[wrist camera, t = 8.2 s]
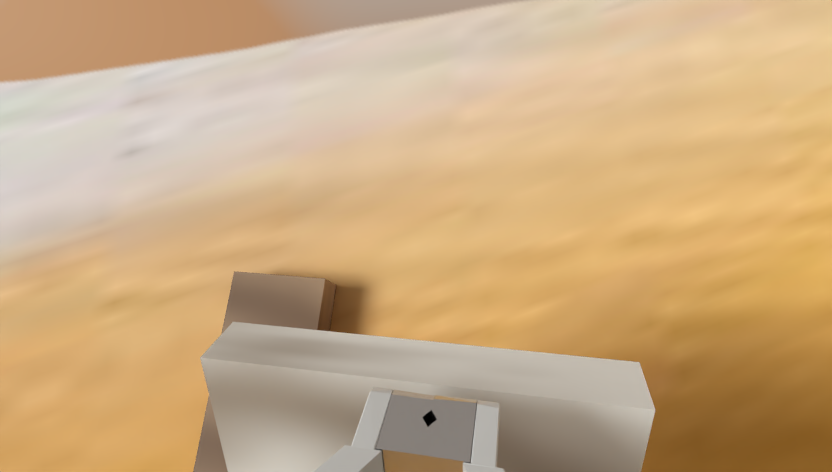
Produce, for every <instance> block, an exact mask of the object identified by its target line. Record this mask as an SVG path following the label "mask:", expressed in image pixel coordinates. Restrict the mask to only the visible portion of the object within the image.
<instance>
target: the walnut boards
mask: <svg viewBox="0 0 832 472" xmlns="http://www.w3.org/2000/svg"><path fill="white" fill-rule="evenodd" d="M335 290H336V285H335V284H333V283H332V282H330V281H328V280H326V279H322V278H310V277H297V276H285V275H272V274H260V273H247V272H235V271H234V275H233V280H232V285H231V290H230V295H229V300H228V305H227V310H226V315H225V319H224V324H223V329H222V333H223V332H224V331H225V330H226V329H227V328H228V327H229V326H230V325H231V323H232V322H241V323H251V324H261V325H271V326H281V327H291V328H301V329H311V330H321V331H329V330H330V323H331V316H332V310H333V303H334V296H335ZM193 472H228V470H227V466H226V462H225V458H224V454H223V450H222V446H221V441H220V437H219V433H218V429H217V425H216V421H215V417H214V412H213V408H212V404H211V400H210V396H209V398H208V403H207V407H206V412H205V417H204V422H203V427H202V432H201V437H200V442H199V447H198V451H197V456H196V461H195V466H194V471H193Z"/></svg>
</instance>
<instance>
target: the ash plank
mask: <svg viewBox="0 0 832 472" xmlns="http://www.w3.org/2000/svg"><path fill="white" fill-rule="evenodd" d="M200 359H201V363H202V367H203V371H204V375H205V379H206V383H207V388H208V392H209V396H210V400H211V404H212V408H213V412H214V417H215V421H216V425H217V429H218V433H219V437H220V441H221V446H222V450H223V454H224V458H225V462H226V466H227V470H228V472H314V471H315V470H316V469H317V468H318V467H320V466H321V465H322V464H323V463H324V462H326V461H327V460H328V459H329V458H330V457H332V456H333V455H334V454H335V453H336V452H337V451H339V450H340V449H341V448H342V447H343V446H345V445H348V446H351V445H352V442H353V439H354V436H355V433H356V430H357V427H358V424H359V421H360V418H361V416H362V413H363V410H364V407H365V404H366V401H367V398H368V395H369V392H370V391H371V390H372V388H373V387H378V388H385V389H393V390H400V391H407V392H413V393H420V394H427V395H433V396H435V395H440V396H449V397H458V398H467V399H476V400H477V403H478V400H481V401H489V402H497V403H500V420H499V438H498V455H497V467H498V468H503V469H504V470H505V472H641V470H642V465H643V461H644V457H645V452H646V448H647V444H648V440H649V435H650V431H651V427H652V422H653V418H654V414H655V407H654V404H653V401H652V398H651V395H650V392H649V389H648V386H647V383H646V380H645V377H644V374H643V371H642V368H641V365H640V362H632V361H622V360H612V359H602V358H592V357H582V356H572V355H562V354H552V353H542V352H532V351H522V350H512V349H502V348H492V347H482V346H472V345H462V344H452V343H442V342H431V341H421V340H411V339H401V338H391V337H381V336H371V335H361V334H351V333H341V332H331V331H321V330H311V329H301V328H291V327H281V326H271V325H261V324H251V323H241V322H232V323H231V325H230V326H229V327H228V328H227V329H226V330H225V331H224V332H223V333H222V334H221V336H220V337H219V338H218V339H217V340H216V341H215V342H214V343H213V344H212V345H211V346H210V348H209V349H208V350H207V351H206V352H205V353H204V354H203V355H202V356H201V357H200Z"/></svg>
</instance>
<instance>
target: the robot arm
mask: <svg viewBox="0 0 832 472" xmlns="http://www.w3.org/2000/svg"><path fill="white" fill-rule="evenodd" d="M499 420H500V403H497V402H489V401H481V400H478V403H477V400H476V399H467V398H458V397H449V396H440V395H435V396H433V395H427V394H420V393H413V392H407V391H400V390H393V389H385V388H378V387H373V388H372V390H371V391H370V392H369V395H368V398H367V401H366V404H365V407H364V410H363V413H362V416H361V418H360V421H359V424H358V427H357V430H356V433H355V436H354V439H353V442H352V445H351V446H348V445H345V446H343V447H342V448H341V449H340V450H339V451H337V452H336V453H335V454H334V455H333V456H332V457H330V458H329V459H328V460H327V461H326V462H324V463H323V464H322V465H321V466H320V467H318V468H317V469H316V470H315V471H314V472H505V470H504V469H503V468H498V467H497V455H498V438H499Z"/></svg>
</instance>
